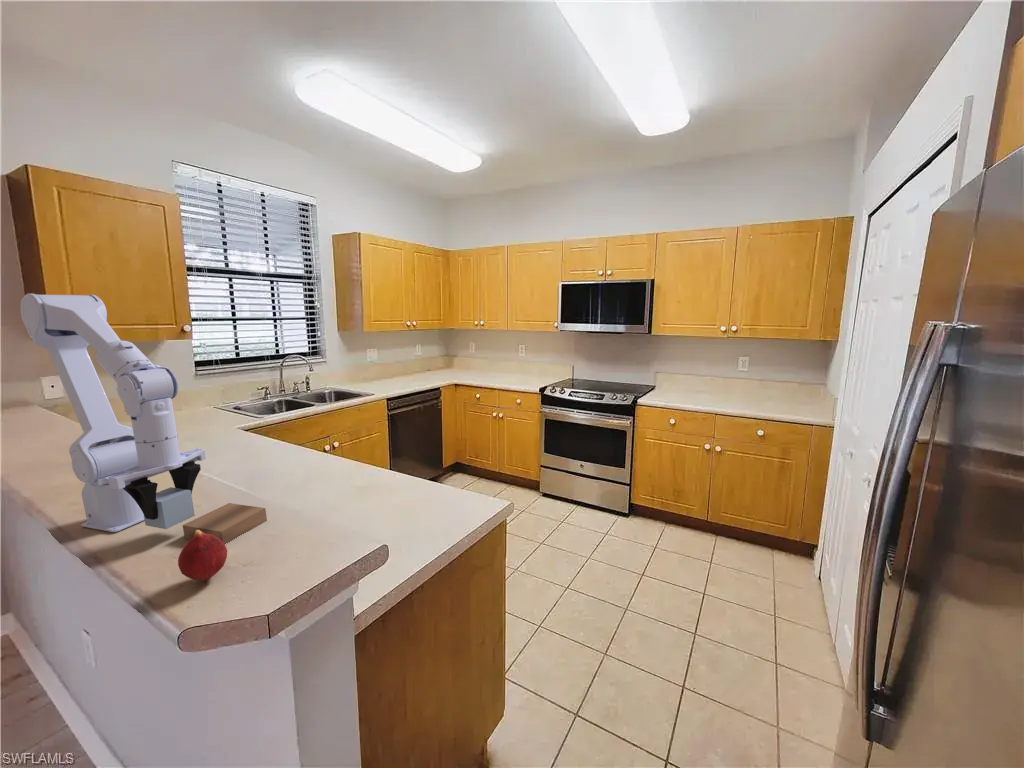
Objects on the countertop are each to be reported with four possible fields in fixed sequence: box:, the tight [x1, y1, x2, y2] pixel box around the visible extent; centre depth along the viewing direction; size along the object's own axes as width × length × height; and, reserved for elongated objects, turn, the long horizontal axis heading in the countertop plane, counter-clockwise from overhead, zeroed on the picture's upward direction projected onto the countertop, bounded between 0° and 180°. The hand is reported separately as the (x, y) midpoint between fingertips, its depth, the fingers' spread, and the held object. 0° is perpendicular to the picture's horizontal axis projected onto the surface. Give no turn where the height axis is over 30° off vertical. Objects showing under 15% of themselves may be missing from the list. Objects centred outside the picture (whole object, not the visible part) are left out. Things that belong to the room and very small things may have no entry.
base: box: [182, 502, 268, 545], centre depth 78 cm, size 9×9×3 cm
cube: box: [143, 486, 196, 530], centre depth 76 cm, size 5×5×5 cm
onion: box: [177, 530, 228, 582], centre depth 62 cm, size 6×6×8 cm
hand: (168, 510), depth 76 cm, fingers closed on cube, 5 cm apart
